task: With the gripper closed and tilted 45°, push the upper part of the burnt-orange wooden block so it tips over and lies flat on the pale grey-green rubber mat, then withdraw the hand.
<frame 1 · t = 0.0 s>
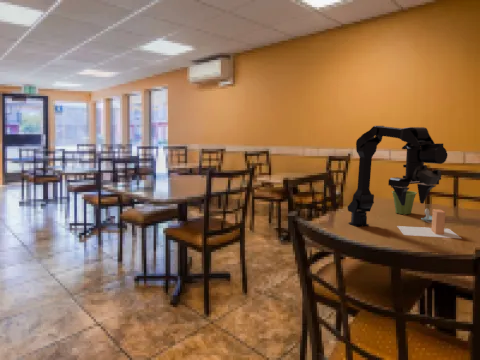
hand: (412, 204, 119), 15 cm above the table, tool pointing down, fingers open, 9 cm apart
pacifier: (429, 222, 152), on the table
orange block: (437, 232, 133), resting on mat
mat: (427, 232, 134), on the table
plant pot: (402, 213, 170), on the table
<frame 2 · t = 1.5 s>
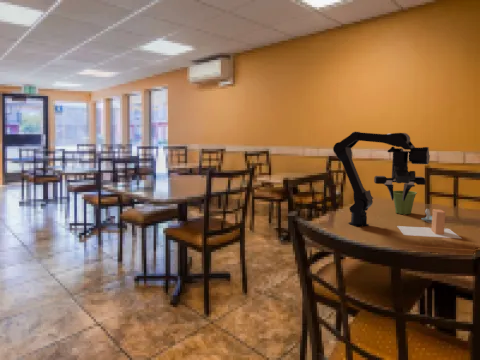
hand: (398, 200, 136), 13 cm above the table, tool pointing down, fingers open, 4 cm apart
nothing on the table moved.
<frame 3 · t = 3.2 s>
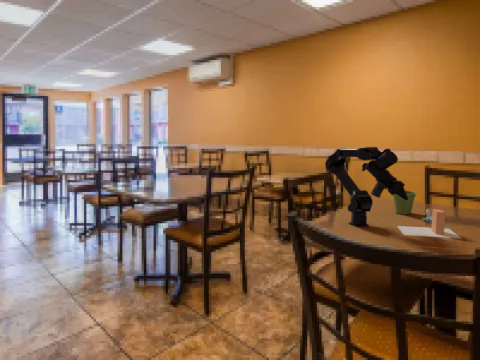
hand: (407, 199, 135), 14 cm above the table, tool tilted 45°, fingers closed
nothing on the table moved.
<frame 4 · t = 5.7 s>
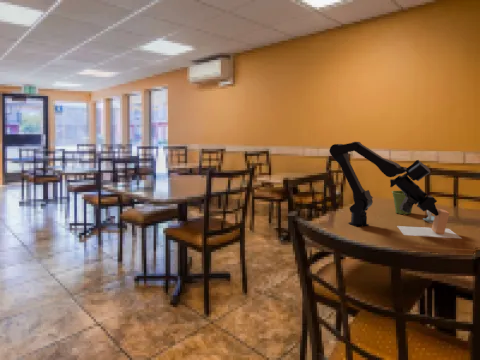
hand: (437, 215, 132), 8 cm above the table, tool tilted 45°, fingers closed
orange block: (437, 231, 133), point 1 cm above the table, tilted 9°, touching mat
everything else where it was.
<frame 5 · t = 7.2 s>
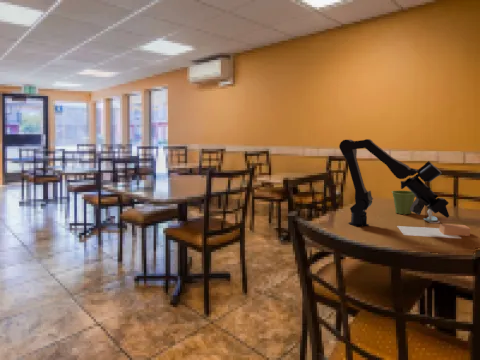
hand: (448, 216, 131), 7 cm above the table, tool tilted 45°, fingers closed
orange block: (441, 229, 133), point 2 cm above the table, tilted 90°, touching mat
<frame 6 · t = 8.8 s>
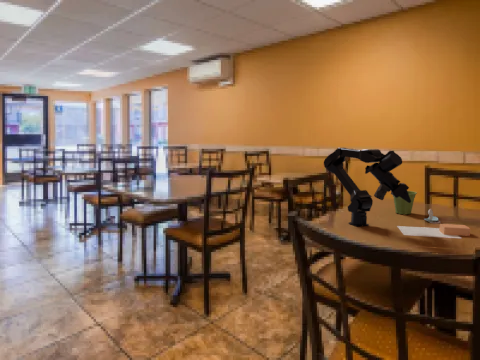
hand: (410, 202, 134), 13 cm above the table, tool tilted 45°, fingers closed
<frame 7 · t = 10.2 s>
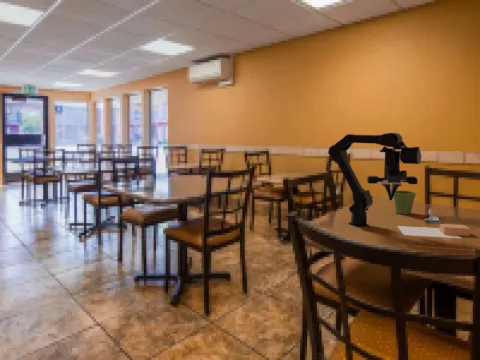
hand: (390, 200, 137), 13 cm above the table, tool pointing down, fingers closed
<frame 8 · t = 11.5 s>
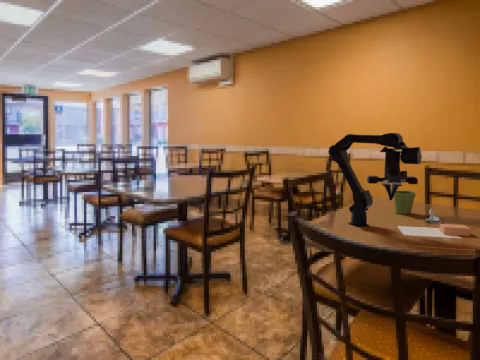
hand: (390, 200, 137), 13 cm above the table, tool pointing down, fingers closed
at the end: orange block tilted 90°; orange block 5.3 cm from the mat (horizontally); orange block touching mat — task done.
